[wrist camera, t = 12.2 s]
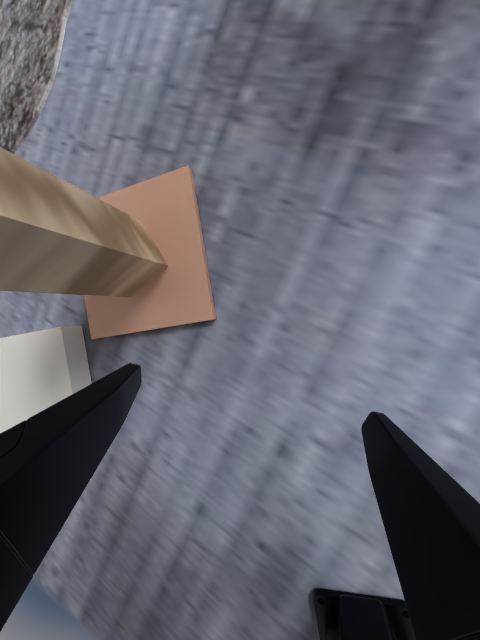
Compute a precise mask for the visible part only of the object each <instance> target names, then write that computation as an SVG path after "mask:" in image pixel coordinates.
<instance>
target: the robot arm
mask: <svg viewBox="0 0 480 640" xmlns="http://www.w3.org/2000/svg"><path fill="white" fill-rule="evenodd" d="M140 386H141V367H140V365H137V364H132V363H129V364H127V365H125V366H123V367H121V368H119V369H118V370H116V371H114V372H112V373H110V374H108V375H107V376H105V377H103V378H101V379H99V380H98V381H96V382H94V383H92V384H90V385H88V386H87V387H85V388H83V389H81V390H79V391H77V392H76V393H74V394H72V395H70V396H68V397H66V398H65V399H63V400H61V401H59V402H57V403H56V404H54V405H52V406H50V407H48V408H46V409H45V410H43V411H41V412H39V413H37V414H35V415H34V416H32V417H30V418H28V419H27V421H26V420H25V421H22V422H21V423H19V424H17V425H15V426H13V427H12V428H10V429H8V430H6V431H4V432H2V433H0V631H1V630H2V628H3V626H4V624H5V623H6V621H7V619H8V618H9V616H10V614H11V613H12V611H13V609H14V608H15V606H16V604H17V603H18V601H19V599H20V597H21V596H22V594H23V593H24V590H25V589H26V587H27V586H28V584H29V582H30V581H31V579H32V577H33V574H34V573H35V572H36V570H37V569H38V567H39V565H40V563H41V562H42V560H43V558H44V557H45V555H46V553H47V552H48V550H49V548H50V547H51V545H52V543H53V542H54V540H55V538H56V536H57V535H58V533H59V531H60V530H61V528H62V526H63V525H64V523H65V521H66V520H67V518H68V516H69V515H70V513H71V511H72V509H73V508H74V506H75V504H76V503H77V501H78V499H79V498H80V496H81V494H82V493H83V491H84V489H85V487H86V486H87V484H88V482H89V481H90V479H91V477H92V476H93V474H94V472H95V471H96V469H97V467H98V466H99V464H100V462H101V460H102V459H103V457H104V455H105V454H106V452H107V450H108V449H109V447H110V445H111V444H112V442H113V440H114V438H115V437H116V435H117V433H118V432H119V430H120V428H121V426H122V425H123V423H124V421H125V419H126V417H127V414H128V412H129V410H130V408H131V406H132V403H133V401H134V399H135V397H136V395H137V392H138V390H139V388H140ZM362 436H363V441H364V447H365V453H366V458H367V464H368V469H369V473H370V477H371V481H372V485H373V488H374V492H375V495H376V499H377V502H378V506H379V510H380V513H381V517H382V520H383V524H384V527H385V531H386V535H387V538H388V542H389V545H390V549H391V553H392V556H393V560H394V563H395V567H396V570H397V574H398V578H399V581H400V585H401V588H402V592H403V595H404V599H405V601H403V600H397V599H390V598H383V597H375V596H368V595H361V594H354V593H347V592H340V591H333V590H325V589H316V590H315V591H314V604H315V610H316V616H317V623H318V629H319V635H320V640H480V504H479V503H478V502H477V501H476V500H475V499H474V498H473V497H472V496H471V495H470V494H469V493H468V492H467V491H466V490H465V489H464V488H462V487H461V486H460V485H459V484H458V483H457V482H456V481H455V480H454V479H453V478H452V477H451V476H450V475H449V474H448V473H446V472H445V471H444V470H443V469H442V468H441V467H440V466H439V465H438V464H437V463H436V462H435V461H434V460H433V459H432V458H430V457H429V456H428V455H427V454H426V453H425V452H424V451H423V450H422V449H421V448H420V447H419V446H418V445H417V444H416V443H415V442H413V441H412V440H411V439H410V438H409V437H408V436H407V435H406V434H405V433H404V432H403V431H402V430H401V429H400V428H399V427H397V426H396V425H395V424H394V423H393V422H392V421H391V420H390V419H389V418H388V417H387V416H386V415H385V414H383V413H379V412H371V413H370V414H369V415H368V417H367V418H366V420H365V421H364V423H363V425H362Z"/></svg>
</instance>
